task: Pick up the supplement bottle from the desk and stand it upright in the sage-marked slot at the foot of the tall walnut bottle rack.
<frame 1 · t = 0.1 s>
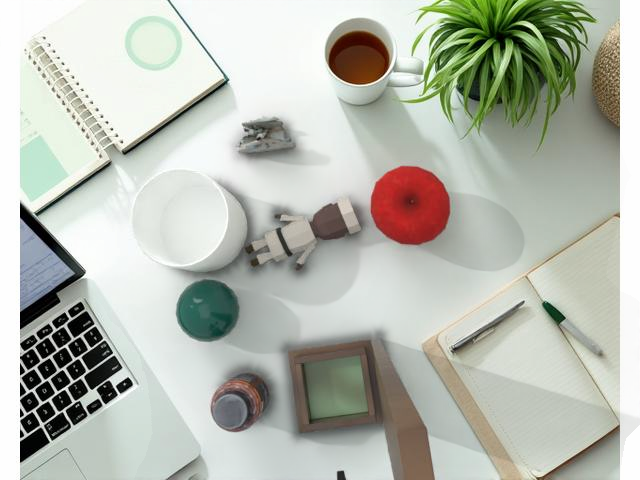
hand: (301, 479, 60), 20 cm above the table, tool horizontal, fingers open, 7 cm apart
cup: (205, 229, 84), on the table
grey irregular chunk: (267, 139, 84), on the table
apple: (405, 213, 82), on the table
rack: (339, 385, 80), on the table
sphere: (215, 309, 83), on the table
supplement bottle: (247, 395, 81), on the table
toy: (303, 236, 83), on the table
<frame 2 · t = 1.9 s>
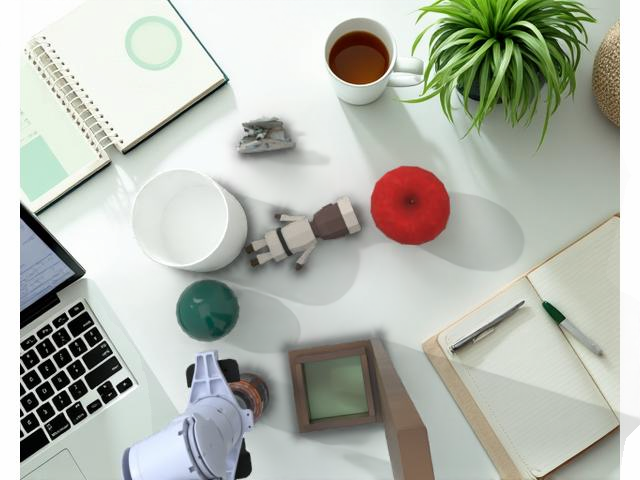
hand: (231, 407, 71), 10 cm above the table, tool pointing down, fingers open, 7 cm apart
nothing on the table moved.
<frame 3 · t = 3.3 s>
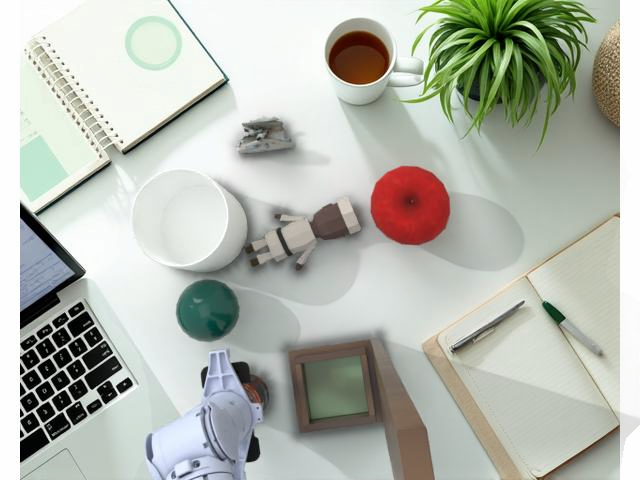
hand: (241, 403, 76), 5 cm above the table, tool pointing down, fingers closed on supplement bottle, 6 cm apart
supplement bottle: (247, 395, 81), on the table, touching gripper
everything else where it was.
when the fingers open (6 cm above the table, at t = 7.5 s): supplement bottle stays where it is, resting on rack.
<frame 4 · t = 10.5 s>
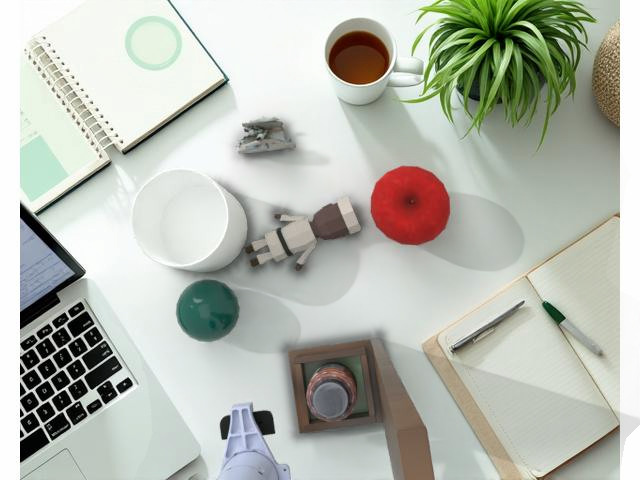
hand: (262, 453, 70), 10 cm above the table, tool pointing down, fingers open, 7 cm apart
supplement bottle: (334, 385, 80), point 1 cm above the table, touching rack
everything else where it was.
at the end: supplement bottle 0.3 cm off-centre on the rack, point 0.6 cm above the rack's base; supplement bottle tilted 0°; the gripper is holding nothing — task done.
